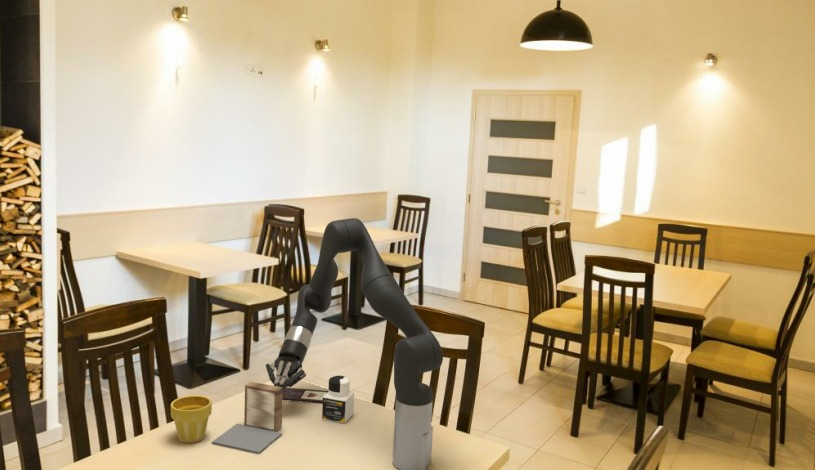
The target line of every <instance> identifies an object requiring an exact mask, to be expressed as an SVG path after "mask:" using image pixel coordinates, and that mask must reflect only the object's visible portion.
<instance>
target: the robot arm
mask: <svg viewBox="0 0 815 470" xmlns="http://www.w3.org/2000/svg"><path fill="white" fill-rule="evenodd" d="M349 252H356V253H357V254H358V255H359V257H360V259H361V262H362V269H361V270H362V271H361V276H360V289H361V292H362V294H363V296H364V297H365V299H366V301H367V303H368V305H369V306H370V307H371V309H372V310H373V311H374V312H375V313H376V314H377V315H378V316H380V317H381V318H383V319H384V320H385V321H387V322H389V323H390V324H391V325H394V327H396V328H397V329H399V330H400V331H401V333H403V335H404V336H405V337H403V338H401V339H400V340H398V341H397V342H396V345H395V347H394V352H393V353H394V354H393V384H394V389H395V406H394V407H395V408H394V426H393V427H394V428H393V441H392V442H393V443H392V444H393V446H392V465H393V466H394V467H395V468H396V469H397V470H428V469H427V468H428V467H429V466H430V464H431V462H432V453H433V452H432V451H433V449H432V448H433V438H434V437H433V435H434V426H432V415H433V414H432V412H433V399H434V398H433V397H434V392H433V391H434V390H433V388H432V387H431V386H430V385H428V384H427V383H424V382H420V374H425V373H428V372H431V371H435V370H437V369H439V368H440V367H441V366H442V364H443V361H444V353H443V349H442V346H441V344H440V342H439V341H438V339H437V337H436V335H435V334H434V333H433V332H432V330H431V329H430V328H429V327H428V326H427V324H426V323H425V322H424V320H422V318H421V317H420V316H419V314H418V312H416V310H415V309H414V307H413V306H412V304H411V302H410V301H409V300H408V298H407V297H406V295H405V293H404V291H403V290H402V288H401V286H400V284H399V283H398V282H397V280H396V278H395V277H394V275H393V274H392V272H391V271H390V270H389V269H388V266H387V265H386V263H385V262H384V260H383V258H382V257H381V255H380V253H379V252H378V249H377V247H376V245H375V243H374V241H373V238H372V237H371V235H370V233H369V231H368V228H367V227H366V226H365V224H364V223H363V222H362V220H361V219H359V218H355V217H352V218H351V217H350V218H344V219H337V220H333V221H330V222H329V223H328V224H327V225H326V227H325V228H324V231H323V234H322V240H321V245H320V250H319V257H318V260H317V264H316V267H315V269H314V271H313V274H312V276H311V277H310V278H311V279H310V280H309V284H304V285H303V286H301V287H300V288H299V290H298V293H297V303H296V311H295V315H294V317H293V320H292V323H291V326H290V327H289V330H288V331H287V333H286V335H285V338H284V340H283V342H282V345H281V347H280V350H279V353H278V355H277V358H276V359H275V360H274V362H273V363H270V364H269V363H266V364H265V369H266V371H267V375H268V378H269V381H270V382H271V383H272V384H273V386H277V387H283V391H284V389H285V388H286V387H287V388H293V386H295V385H296V384H298V383H299V382H300V381H302V380H303V379H304V378H305V377H307V373H306V372H305V370H304V369H302V368H303V362H304V361H305V357H306V354H307V352H308V350H309V348H310V344H311V341H312V338H313V335H314V332H315V329H316V326H317V324H318V318H317V316H316V315H314V314H313V313H312V312H311V311H309V310H312V311H314V312H317V313H319V314H320V313H321V314H322V313H326V312H327V311H328V310H329V309H330V307H331V304H332V290H333V287H334V285H335V283H336V282H337V279H338V276H339V267H338V265H337V262H336V261H335V258H336V256H337V255H338V254H343V253H349ZM308 309H309V310H308ZM275 370H276V374H275V373H274V372H275Z"/></svg>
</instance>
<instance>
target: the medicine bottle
mask: <svg viewBox="0 0 815 470" xmlns="http://www.w3.org/2000/svg"><path fill="white" fill-rule="evenodd" d="M350 383H351V380H350V379H349V377H346V376H344V375H334V376H331V377H330V378H329V379H328V390H327V391H329V392H328V393H327V394H325V395H324V396H323V403H322V405H321V406H322V412H321V419H322V420H324V421H327V422H335V423H338V424H339V423H340V424H346V422H347V421H348V420H349V419H351V418H352V417H353V416H354V412H355V410H354V409H355V392H354V391H350V388H351V385H350Z"/></svg>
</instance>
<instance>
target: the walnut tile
mask: <svg viewBox="0 0 815 470" xmlns="http://www.w3.org/2000/svg"><path fill="white" fill-rule="evenodd" d="M282 399H283V387H277V386H274V385H271V384H266V383H260V382H254V381H250V382H247V383H246V384H245V385H244V418H243V419H244V420H243V425H246V426H250V427H255V428H260V429H265V430H270V431H275V432H280V431H281V430H282V428H283V400H282Z"/></svg>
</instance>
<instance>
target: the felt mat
mask: <svg viewBox="0 0 815 470" xmlns="http://www.w3.org/2000/svg"><path fill="white" fill-rule="evenodd" d="M281 436H283V432H280V431H278V432H275V431H270V430H265V429H260V428H255V427H250V426H246V425H244V424H239V423H236V424H234V425H233V426H231V427H230V428H229V429H227V430H226V431H225V432H223V433H222V434H220V435H219V436H218V437H216V438H215V439H214V440H212V441H211V444H212V445H214V446H215V445H216V446H221V447H225V448H229V449H234V450H239V451H243V452H248V453H252V454H257V455H260V454H261V453H262V452H264V451H265V450H267V448H269V447H270V446H271V445H272V444H273V443H275V442H276V441H277V440H278V439H279V438H280V437H281Z"/></svg>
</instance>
